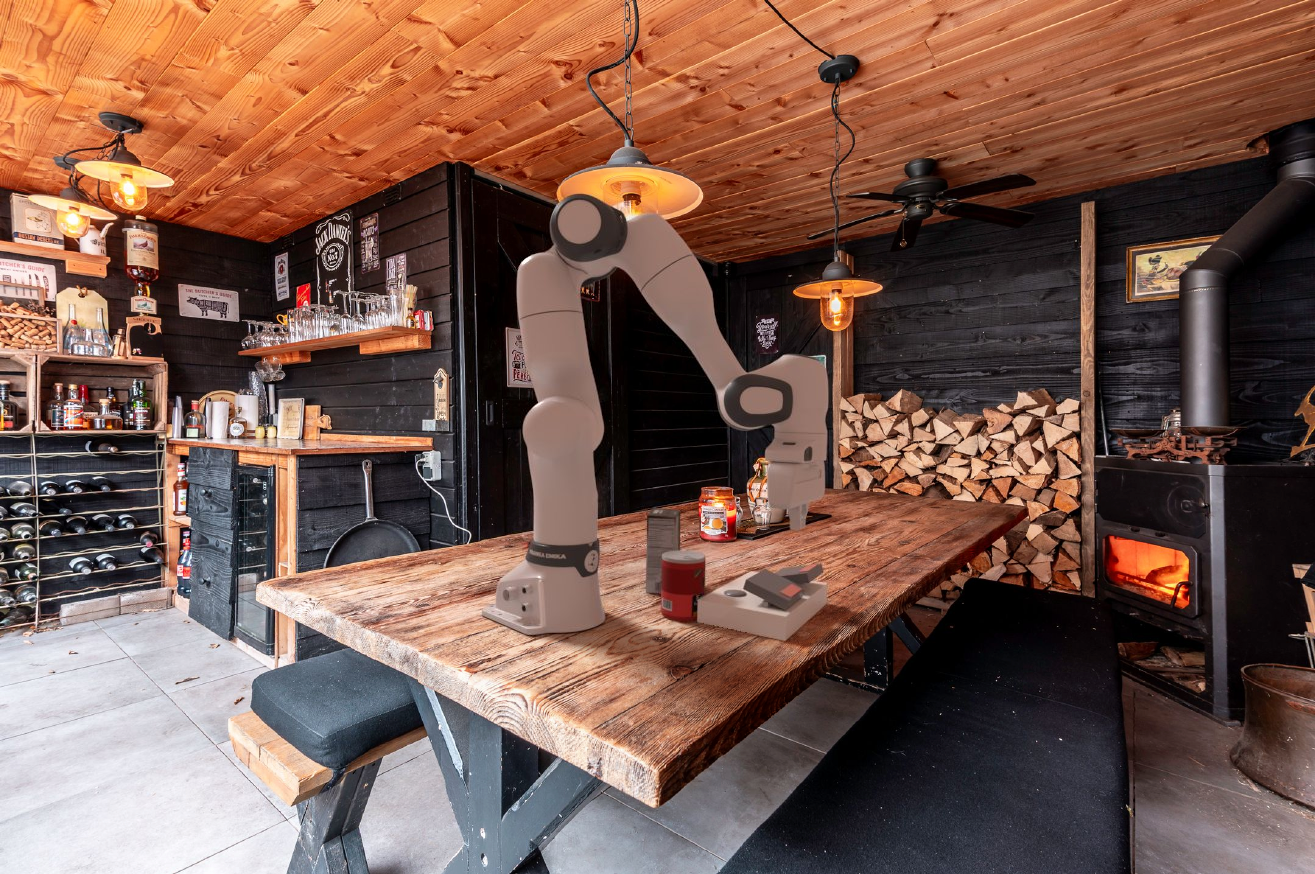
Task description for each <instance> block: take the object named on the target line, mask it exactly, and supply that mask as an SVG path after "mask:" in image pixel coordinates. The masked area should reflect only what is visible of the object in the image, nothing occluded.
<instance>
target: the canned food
mask: <svg viewBox="0 0 1315 874" xmlns="http://www.w3.org/2000/svg"><path fill="white" fill-rule="evenodd" d="M706 561H707V560H706V555H705V554H703V553H702V552H699V551H692V550H680V551H669V552H665V553H663V554H662V571H661V594H660V596H661V597H660V612H661V614H662V616H663V617H664V618H665V619H667V618H668V620H669V621H674V620H676V621H675V622H694V621H697V612H698V599H700V598H702V597H704V596H705V595H706V567H707V566H706V563H707V562H706Z"/></svg>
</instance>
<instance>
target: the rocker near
mask: <svg viewBox="0 0 1315 874" xmlns="http://www.w3.org/2000/svg"><path fill="white" fill-rule="evenodd" d="M758 572H759V573H757V574H755V575H753V576H752V577H750V578H748V579H746V581H745V584H744V587H743V589H744V590H746V591H748V592H750V593H752V594H754V595H756V596H758V597H760V598H762V599H764V600H766V601H768V602H770V603H772V604H774V605H776V606H778V607H780V608H782V609H784V610H787V609H788V608H789V607H790V606H792V605H793V604H794V603H796V602H797V601H798V600H800V599H801V598H802V597H803V594H804V592H805V589H806V588H804V587H802V586H800V585H798V584H796V583H794V582H792V581H790V580H788V579H786V578H783V577H781V576H779V575H777V574H775V572H773V571H771V570H768V569H767V568H763V570H760V571H758Z"/></svg>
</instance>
